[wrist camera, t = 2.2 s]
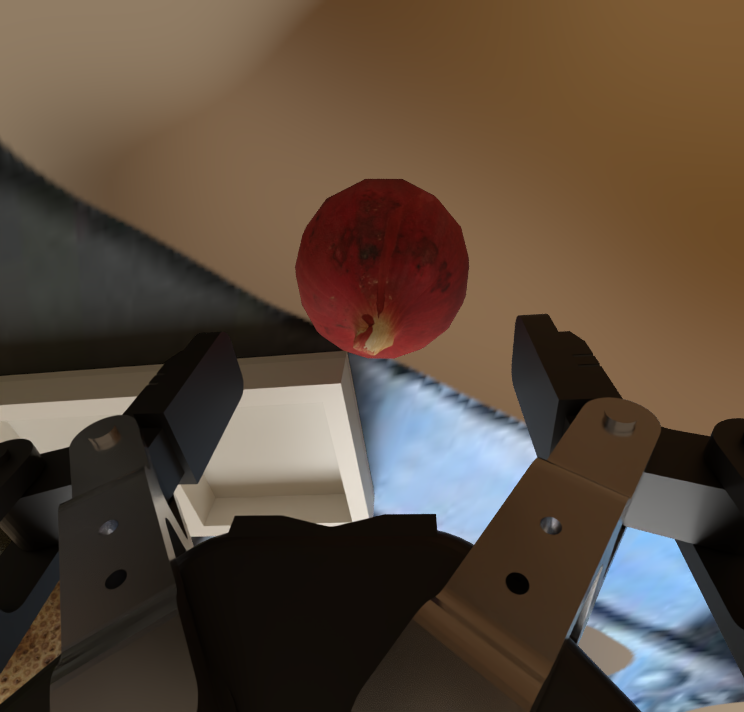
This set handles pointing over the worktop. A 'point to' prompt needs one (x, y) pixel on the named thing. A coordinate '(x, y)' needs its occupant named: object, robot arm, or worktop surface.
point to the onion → (382, 268)
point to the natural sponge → (34, 647)
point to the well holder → (228, 436)
